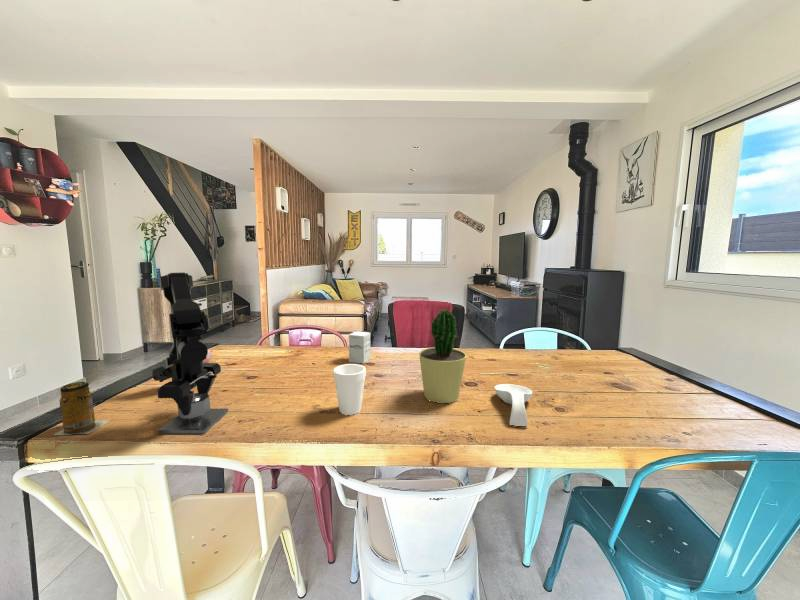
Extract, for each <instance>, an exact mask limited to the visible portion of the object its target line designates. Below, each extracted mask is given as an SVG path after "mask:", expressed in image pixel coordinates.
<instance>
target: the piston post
mask: <svg viewBox="0 0 800 600" xmlns="http://www.w3.org/2000/svg"><path fill="white" fill-rule="evenodd" d="M198 400H200V396H193V398H192V402H195V401H198ZM227 412H229V408H210V410H209V411H208V412H207V413H206V414H204V415H201V416H198V417H195V418H181V417H180V416H179V415H177V416H175V417H174V418H173V419H171V420H169V421H168V422H167V423H166V424H164V425H163V426H162V427H159V429H157V433H158V435H205V434H206V433H207V432H209V431H208V430H209V429H210V428H211V427H212V426H213V425H214V424H215V423H216V424H217V423H218V422H219V421H220V420H222V418H224V416H225V415H227V414H228V413H227ZM226 413H227V414H226ZM216 424H215V425H216ZM215 425H214V426H215ZM214 426H213V427H214ZM213 427H212V428H213ZM212 428H211V429H212ZM211 429H210V430H211Z"/></svg>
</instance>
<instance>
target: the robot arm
mask: <svg viewBox="0 0 800 600" xmlns="http://www.w3.org/2000/svg"><path fill="white" fill-rule="evenodd" d="M159 287H160V291H162V292H163V296H164V298H165V299H166V300H167V302H169V307H170V308H169V309H170V313H169V314H168V317H169V318H168V319H169V321H168V322H169V327H170V334H171V339H172V343H171V344H172V345H171V346H170V348H169V349H168V350H167V351H168V353H167V354H168V356H167V357H166V358H165V359H166V366H162V365H161V366H159V367H156V368H153V369H152V374H151V375H152V379H153V380H154V381H156V382H157V381H158V382H159V383H163V382H164V381H166V380H170V379H171V381H167V382H166V383H164V384H163V385H160V386H159V387H158V388H157V390H156V396H157V398H158V399H172V400H174V402H175V403H176V405H177V407H178V406H179V408H180V410H181V412H182V413H183V415H188V414H189V411H190V407H191V403H192V398H193V394H194V393H195V391H194V390H192V389H193V388H195V387H196V390H197V393H207V394H208V395H209V393H210V390H211V388H212V386H213V384H214V382H215V379H216V378H218V377H217V375H218V374H219V373H221V372H222V370H221V367H222V366H221V365H220V364H219V363H218V362H209V363H203V360H205V359H206V356H207V354H208V350H209V348H208V347H207V345H206V344H205V343H204V341H203V340H202V335H207V334H208V331H209V330H210V328H209V327H210V325H209V322H208V317H207V314H206V313H205V311H204V310H202V309H201V306H200V304H199V303H198V302H196V301H194V300H193V298H192V294H191V293H192V292H191V290H192V289H193V288H194V281H193V275H191V274H188V272H169V273H167V274H166V275H161V276H160V277H159Z"/></svg>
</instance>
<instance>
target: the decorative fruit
mask: <svg viewBox="0 0 800 600" xmlns="http://www.w3.org/2000/svg"><path fill="white" fill-rule="evenodd" d="M212 355H213V354H212V351H210V349H208V354H207V356H206V359H205V360H203V363H211V360H212V357H213V356H212Z"/></svg>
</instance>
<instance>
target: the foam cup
mask: <svg viewBox="0 0 800 600" xmlns="http://www.w3.org/2000/svg"><path fill="white" fill-rule="evenodd" d="M366 375H367V368H366V367H365V366H364V365H363V364H359V363H345V364H340V365H338V366H336V367H334V369H333V379H334V384H335V385H334V386H335V391H336V398H337V403H338V409H339V413H340V412H341V413H342V414H341V413H340V414H341V415H343V414H346V415H345V416H347V415H350V416H354V415H353V414H355V415H357V414H356V413H358V412H359V413H360V412H361V411H362V403H363V397H364V389H365V379H366ZM360 410H361V411H360ZM359 413H358V414H359Z"/></svg>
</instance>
